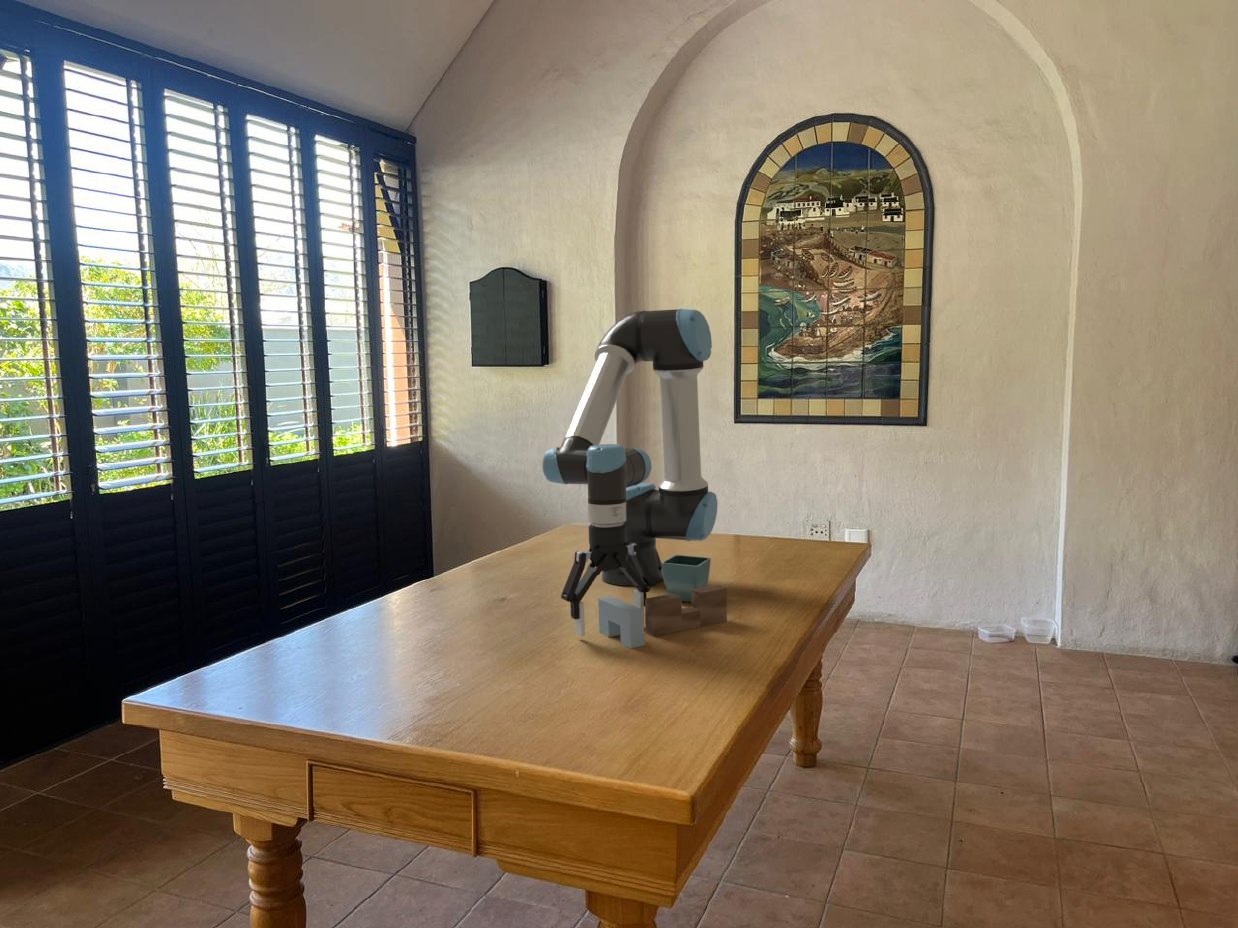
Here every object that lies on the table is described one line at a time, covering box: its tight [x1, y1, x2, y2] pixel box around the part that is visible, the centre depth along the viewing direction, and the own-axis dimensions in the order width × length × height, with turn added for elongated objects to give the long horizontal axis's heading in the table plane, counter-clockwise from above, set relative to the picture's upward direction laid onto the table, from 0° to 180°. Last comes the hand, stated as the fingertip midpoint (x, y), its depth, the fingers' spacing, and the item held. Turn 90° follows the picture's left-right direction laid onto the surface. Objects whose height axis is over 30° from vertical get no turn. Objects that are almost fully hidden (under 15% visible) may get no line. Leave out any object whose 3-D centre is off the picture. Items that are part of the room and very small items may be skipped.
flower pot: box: [661, 554, 712, 603], centre depth 210 cm, size 9×9×9 cm
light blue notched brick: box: [597, 595, 645, 649], centre depth 183 cm, size 12×3×7 cm, turn 31°
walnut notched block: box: [644, 584, 728, 637], centre depth 190 cm, size 3×18×7 cm, turn 121°
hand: (609, 628), depth 187 cm, fingers open, 13 cm apart
